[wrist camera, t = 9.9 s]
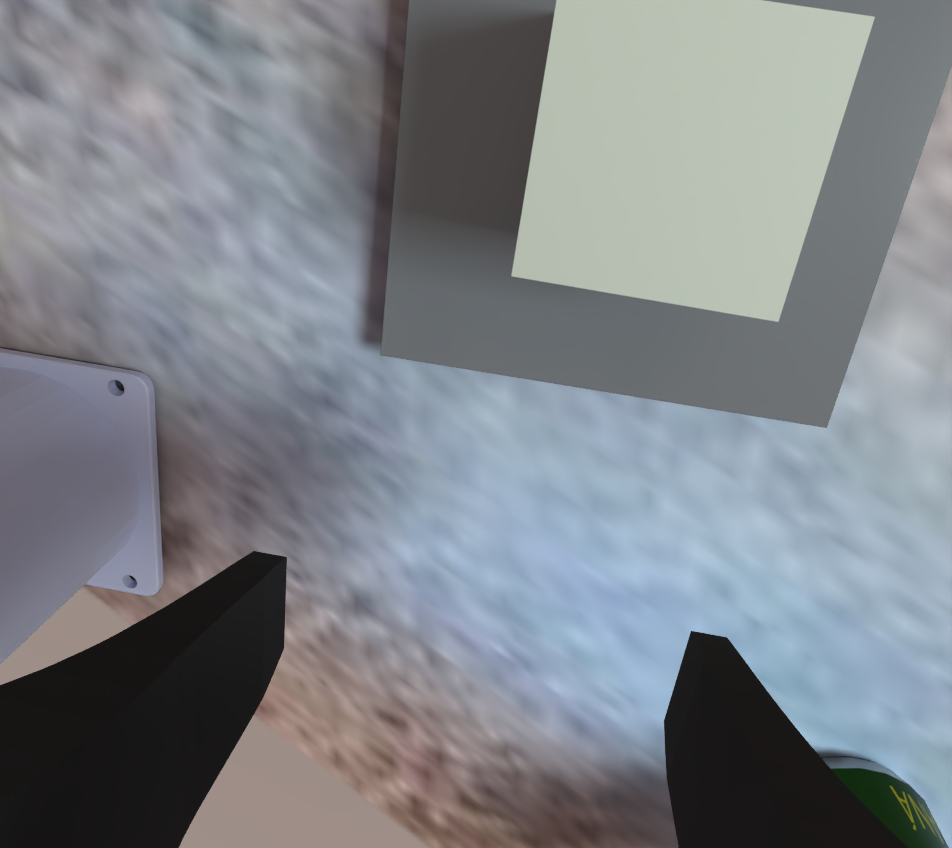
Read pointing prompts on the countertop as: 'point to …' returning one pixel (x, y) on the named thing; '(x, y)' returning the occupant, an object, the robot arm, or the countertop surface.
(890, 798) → the beer can
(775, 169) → the cube
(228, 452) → the countertop surface
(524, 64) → the slate tile
